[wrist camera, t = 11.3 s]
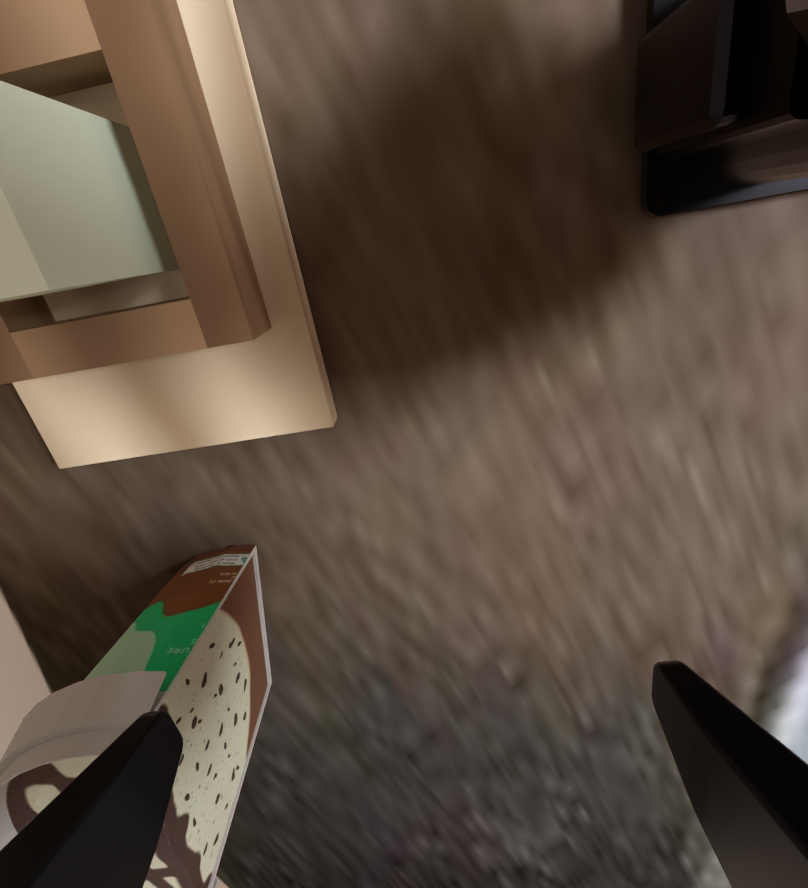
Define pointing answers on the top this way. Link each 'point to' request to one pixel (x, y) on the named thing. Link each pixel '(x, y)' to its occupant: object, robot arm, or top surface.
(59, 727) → the food container
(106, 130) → the pale green block
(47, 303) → the post base
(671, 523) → the top surface
